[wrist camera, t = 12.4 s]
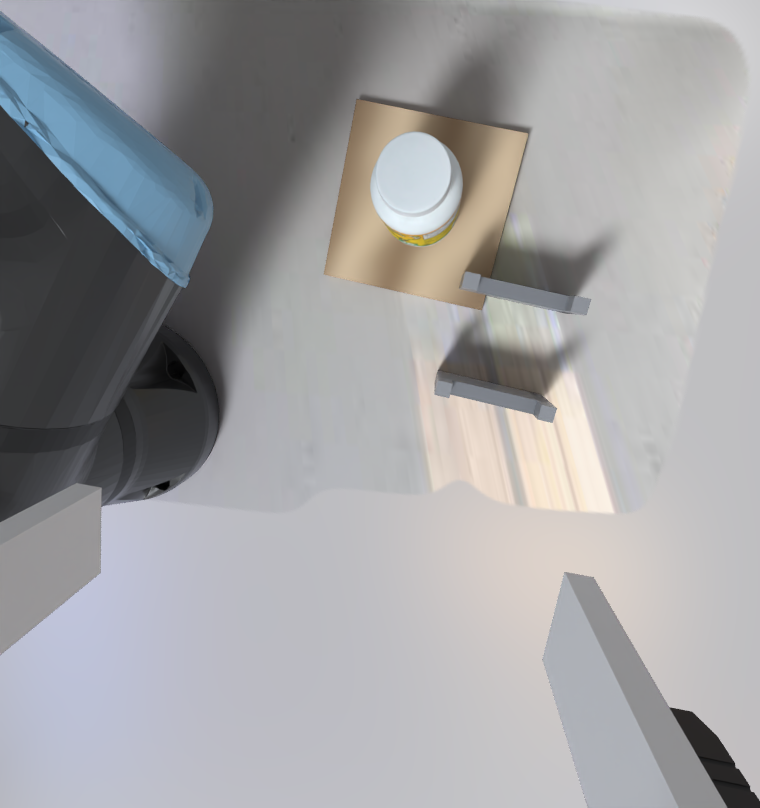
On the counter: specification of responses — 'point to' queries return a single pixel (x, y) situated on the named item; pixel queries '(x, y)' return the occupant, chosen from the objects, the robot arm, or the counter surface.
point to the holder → (496, 392)
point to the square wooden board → (476, 222)
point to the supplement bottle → (417, 188)
